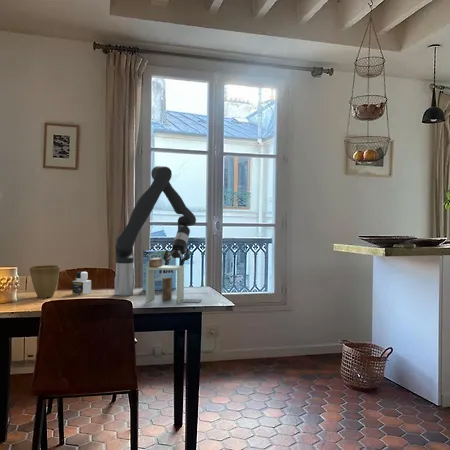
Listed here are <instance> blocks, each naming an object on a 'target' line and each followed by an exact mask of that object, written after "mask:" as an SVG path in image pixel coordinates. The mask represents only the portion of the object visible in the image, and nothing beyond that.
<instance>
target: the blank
mask: <svg viewBox="0 0 450 450" xmlns="http://www.w3.org/2000/svg"><path fill="white" fill-rule="evenodd" d="M161 291H162V295H161V296H162V298H161V300H162V301H164V300H165V301H166V300H167V301H170V300H172V299H173V295H172V294H173V289H172V277H164V278H162V290H161Z"/></svg>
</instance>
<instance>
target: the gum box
mask: <svg viewBox="0 0 450 450" xmlns="http://www.w3.org/2000/svg"><path fill="white" fill-rule="evenodd" d="M166 250H168V251H171V250H172V249H161V250H159V249H157V250H155V249H154V250H143V251H142V291H144V290H145V292H146V267H149V259H152V258H162V265H165V260H164V259H163V257H164V254H165V252H166ZM171 257H172V255H171ZM176 262H177V258H174V259H172V260H170V261H169V265H168V266H177V263H176ZM164 277H172V290H173V289H177V270H155V291H158V290H159V291H162V290H161V289H162V278H164Z"/></svg>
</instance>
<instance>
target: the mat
mask: <svg viewBox="0 0 450 450" xmlns="http://www.w3.org/2000/svg"><path fill="white" fill-rule="evenodd" d="M201 302H202V299H201V298H198V299H197V298H184V299H183V300H182V303H184V304H200V303H201Z"/></svg>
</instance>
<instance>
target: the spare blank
mask: <svg viewBox="0 0 450 450" xmlns="http://www.w3.org/2000/svg"><path fill="white" fill-rule="evenodd" d="M160 266H162V258H152V259H149V268H157V267H160Z"/></svg>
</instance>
